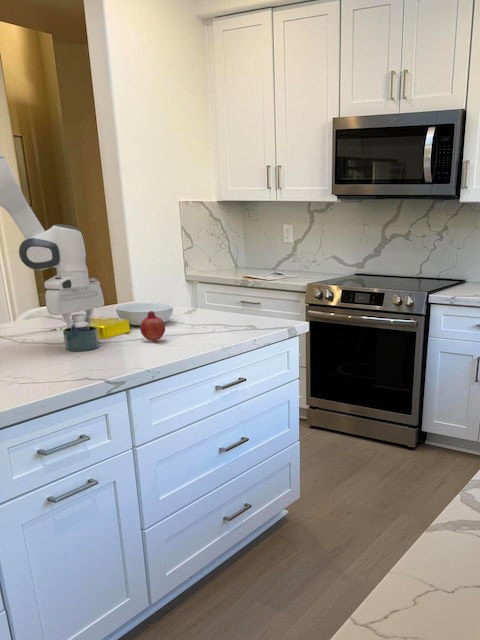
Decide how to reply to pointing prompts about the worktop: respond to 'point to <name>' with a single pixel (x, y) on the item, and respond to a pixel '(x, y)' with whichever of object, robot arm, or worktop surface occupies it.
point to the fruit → (152, 327)
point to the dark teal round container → (81, 339)
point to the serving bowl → (143, 311)
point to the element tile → (110, 326)
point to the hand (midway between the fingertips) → (79, 325)
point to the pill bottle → (79, 323)
